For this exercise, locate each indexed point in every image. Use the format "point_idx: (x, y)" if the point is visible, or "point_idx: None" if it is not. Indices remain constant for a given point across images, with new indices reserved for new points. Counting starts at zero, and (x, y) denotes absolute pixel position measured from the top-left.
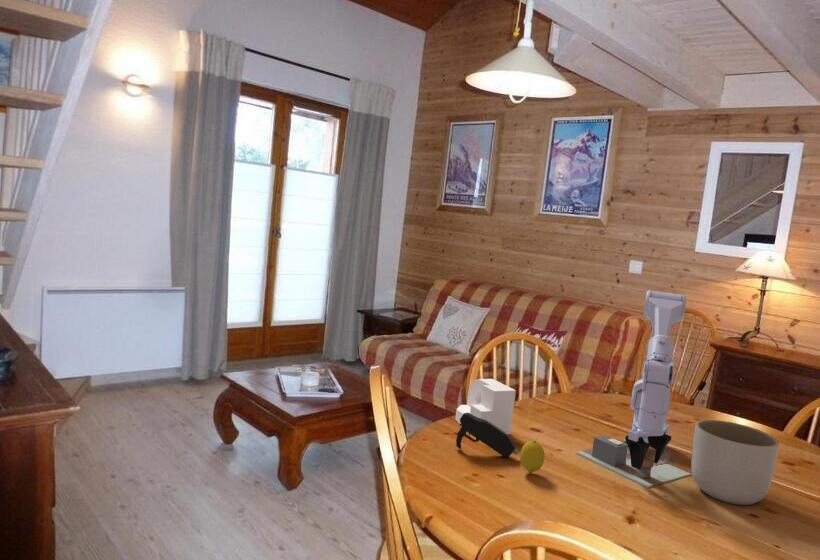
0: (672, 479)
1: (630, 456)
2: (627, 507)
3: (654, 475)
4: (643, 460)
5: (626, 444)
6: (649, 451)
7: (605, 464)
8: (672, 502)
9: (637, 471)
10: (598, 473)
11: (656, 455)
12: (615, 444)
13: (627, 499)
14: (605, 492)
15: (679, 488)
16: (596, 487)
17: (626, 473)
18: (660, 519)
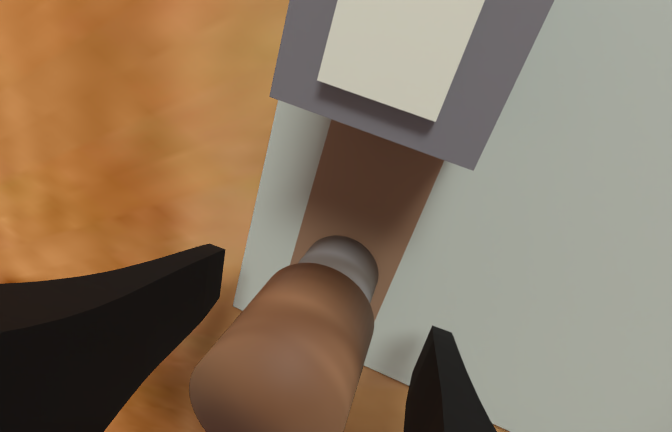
0: None
1: (146, 264)
2: (16, 260)
3: (414, 320)
4: (172, 350)
5: (476, 146)
6: (206, 428)
7: None
8: None
9: (312, 250)
10: (183, 31)
11: (412, 419)
12: (328, 47)
13: (66, 247)
14: (31, 155)
15: (380, 417)
16: (30, 103)
17: (292, 183)
18: None
